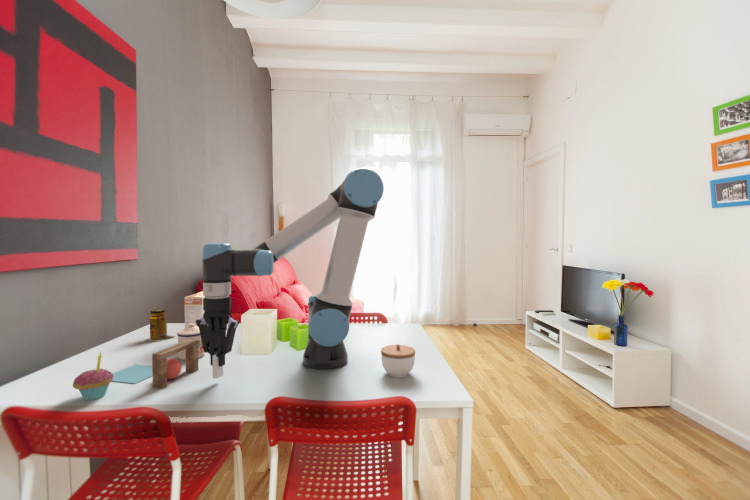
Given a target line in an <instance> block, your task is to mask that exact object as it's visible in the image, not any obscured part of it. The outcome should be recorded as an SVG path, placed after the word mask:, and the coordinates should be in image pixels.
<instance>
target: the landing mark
mask: <svg viewBox="0 0 750 500" xmlns="http://www.w3.org/2000/svg"><path fill="white" fill-rule="evenodd" d="M112 374H113V376H114V377H113V379H112V382H115V383H124V384H131V385H136V384H138V383H140V382H143V381H145V380H147V379H150V378H151V377H152V378H153V371H152V365H145V364H134V365H133V364H132V365H131V366H127V367H126V368H123V369H121V370H118V371H115V372H113V373H112Z"/></svg>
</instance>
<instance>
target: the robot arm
mask: <svg viewBox="0 0 750 500" xmlns="http://www.w3.org/2000/svg"><path fill="white" fill-rule="evenodd" d="M383 194H384V182H383V180H382V178H381V176H380V175H379V174H378V173H377V172H376V171H374V170H372V169H370V168H367V167H360V168H355V169H353V170H351V171H350V172H349V173H348V174H347V175H346V176H345V178H344V180H343V182H342V183H341V184H340V185H339V186H338V187H337V188H336V189H335V190H333V191H332V192H330V193H329V194H328V195H327V196H328V197H327V198H326V199H325V200H324V201H322V202H321V203H319V204H318V205H317V206H315V207H313V208H312V209H311V210H309V211H307V212H306V213H305V214H303V215H302V216H300V217H299V218H297V219H296V220H295V221H293V222H291V223H290V224H289V225H287V226H286V227H284V228H283V229H281V230H280V231H278V232H277V233H275V234H273V235H272V236H271V237H269V238H268V239H266V240H265V241H263V242H262V243H260V244H259V245H257V246H255V247H254V248H253V249H248V250H247V249H246V250H245V249H244V250H243V249H242V250H237V249H232V247H231V244H230V243H228V242H227V243H223V242H222V243H218V242H217V243H216V242H215V243H214V242H213V243H212V242H211V243H206V244H203V248H202V258H201V261H202V291H203V296H205V298H204V299H203V310H204V311H205V312H204V314H203V317H202V318H201V319H198V320H196V324H197V326H198V327H199V331H200V335H201V340H202V345H203V349H204V352H205V354H206V353H208V354H209V355H210V362H209V363H210V366H211V367H212V379H219V378H221V377H223V376H224V366H225V365H226V355H227V354H229V353H231V352H232V349H233V344H234V342H235V341H234V340H235V335H236V332H237V331H236V330H237V328H238V326H239V324H240V321H239V320H235V319H234V318H233V315H232V313H231V309H232V297H231V296H230V295H232V277H237V276H238V277H239V276H241V277H243V276H244V277H245V276H246V277H247V276H251V277H252V276H255V277H256V276H258V277H263V276H271V275H273V273H274V266H275V265H274V264H275V263H276V262H278V261H279V260H281V259H282V258H283V257H285V256H286V255H288V254H289V253H291V252H292V251H294V250H295V249H297V248H298V247H299V246H301V245H303V244H304V243H306V242H307V241H308V240H310V239H312V238H313V237H314V236H316V235H317V234H319V233H320V232H322V231H323V230H325V229H326V228H328V227H329V226H330V225H332V224H333V223H335V222H336V221H338V220H339V221H338V225H337V229H336V232H335V236H334V241H333V245H332V249H331V252H330V253H331V254H330V255H329V256H330V257H329V262H328V266H327V267H326V268H327V269H326V273H325V276H324V282H323V284H322V289H321V291H320V292H319V293H317V294H315V295H313V294H312V295H310V296H309V297H308V301H307V306H308V314H307V315H308V316H307V317H308V321H307V324H308V326H307V327H308V334H307V336H308V341H307V343H306V345H305V349H304V353H303V356H302V358H303V359H302V363H303V365H304V366H306V367H308V368H311V369H317V370H328V369H335V368H341V367H342V366H345V365H346V364H347V363H348V358H349V357H348V352H347V348H346V345H345V342H344V340H345V339H346V338H347V337H348V334H349V332H350V316H351V313H352V309H353V302H352V301H351V298H350V295H351V291H352V288H353V284H354V280H355V275H356V271H357V267H358V263H359V259H360V256H361V255H360V254H361V251H362V248H363V243H364V239H365V236H366V232H367V228H368V223H369V222H370V221H372V220H373V219H375V216H376V211H377V208H378V203H379V202H380V201H381V199H382V198H383ZM207 324H208V325H207Z"/></svg>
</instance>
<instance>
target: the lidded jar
mask: <svg viewBox="0 0 750 500" xmlns="http://www.w3.org/2000/svg"><path fill="white" fill-rule="evenodd" d="M380 355H381V364H382V368H383V369H384V371H385V372H386V373H387V375H388V376H389V377H392V378H396V379H397V378H399V379H400V378H405V377H407V376H408V374H410V372H411V371H412V370H413V368H414V365H415V362H416V361H415V360H416V357H415V356H416V350H415V348H414V347H412V346H409V345H404V344H400V343H397V344H391V345H390V344H389V345H385V346H383V347H382V348H381V350H380Z"/></svg>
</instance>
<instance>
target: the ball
mask: <svg viewBox="0 0 750 500" xmlns="http://www.w3.org/2000/svg"><path fill="white" fill-rule="evenodd" d="M181 372H182V364H181V362H180V361H179V360H178V359H176V358H167V380H173V379H175V378H176V377H178V376H179V375H180V374H181Z"/></svg>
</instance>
